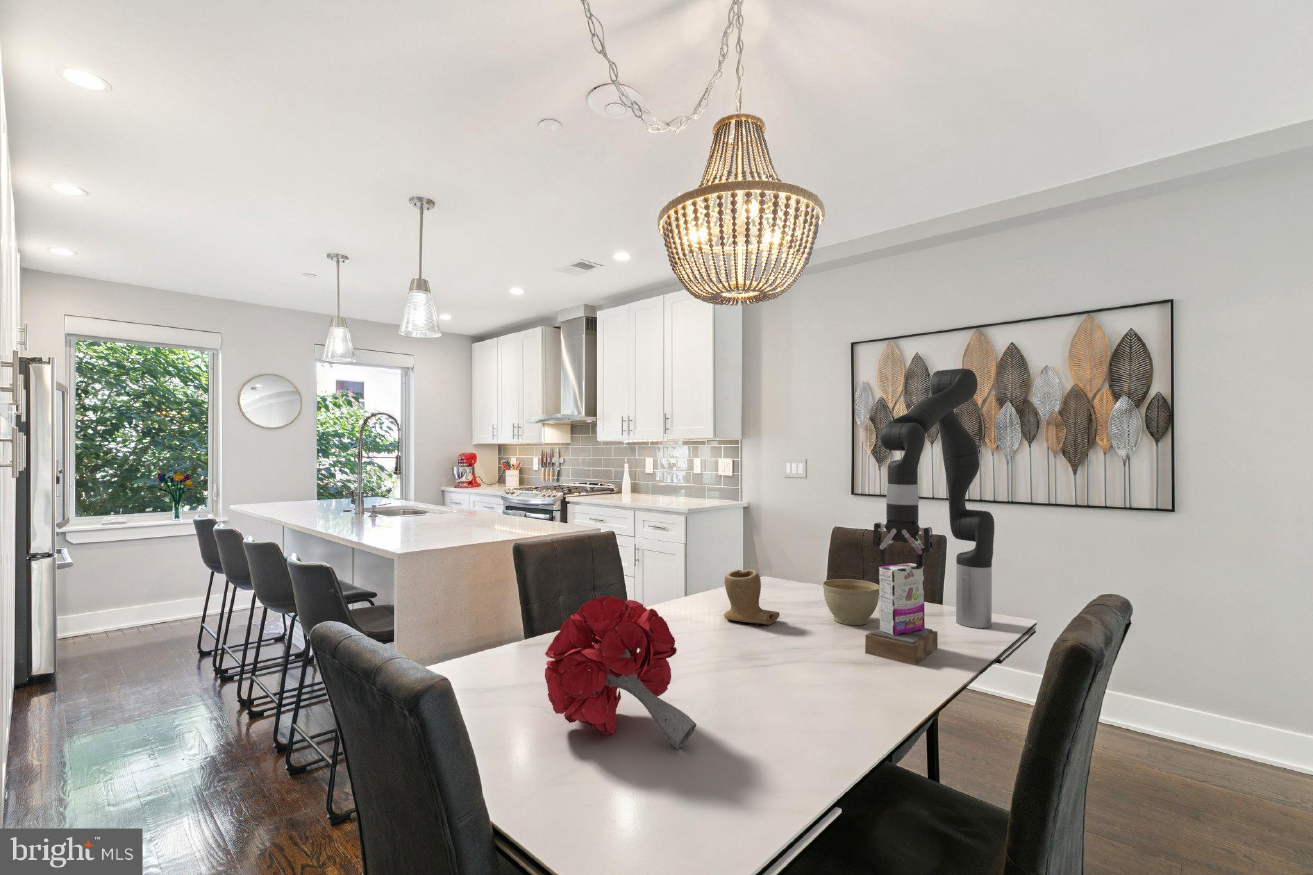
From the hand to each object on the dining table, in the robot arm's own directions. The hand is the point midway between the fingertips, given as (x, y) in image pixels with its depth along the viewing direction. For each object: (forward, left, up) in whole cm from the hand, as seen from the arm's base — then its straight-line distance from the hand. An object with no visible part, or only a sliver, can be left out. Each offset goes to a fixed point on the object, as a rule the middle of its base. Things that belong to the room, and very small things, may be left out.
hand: (902, 566), depth 154 cm
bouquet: (+79, -21, -22) cm, 84 cm away
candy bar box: (0, 0, -17) cm, 17 cm away
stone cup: (+6, -42, -22) cm, 48 cm away
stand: (0, 0, -21) cm, 21 cm away
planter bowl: (-16, -21, -22) cm, 34 cm away
